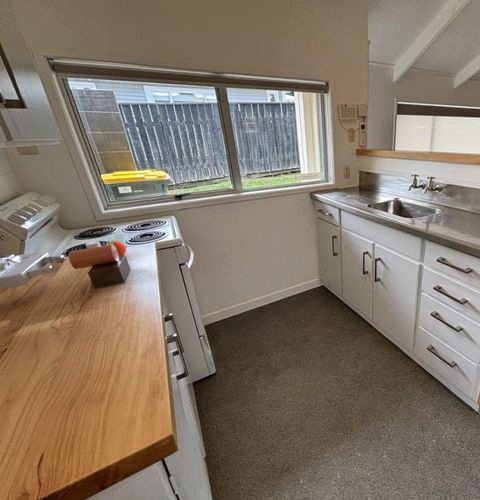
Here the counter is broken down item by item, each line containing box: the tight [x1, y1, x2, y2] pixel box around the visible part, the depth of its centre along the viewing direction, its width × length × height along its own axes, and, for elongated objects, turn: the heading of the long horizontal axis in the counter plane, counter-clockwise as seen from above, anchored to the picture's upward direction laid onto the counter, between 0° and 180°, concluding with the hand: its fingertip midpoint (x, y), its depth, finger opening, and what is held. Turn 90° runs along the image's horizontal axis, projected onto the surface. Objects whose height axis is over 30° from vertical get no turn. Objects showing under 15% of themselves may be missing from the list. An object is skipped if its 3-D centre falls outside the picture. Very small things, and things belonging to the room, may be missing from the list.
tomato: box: [104, 240, 127, 256], centre depth 115 cm, size 8×7×7 cm
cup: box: [68, 244, 119, 270], centre depth 94 cm, size 11×6×6 cm, turn 118°
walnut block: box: [87, 254, 131, 290], centre depth 97 cm, size 8×12×6 cm, turn 28°
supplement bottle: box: [85, 240, 101, 249], centre depth 111 cm, size 5×5×8 cm
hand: (58, 263), depth 90 cm, fingers open, 8 cm apart
